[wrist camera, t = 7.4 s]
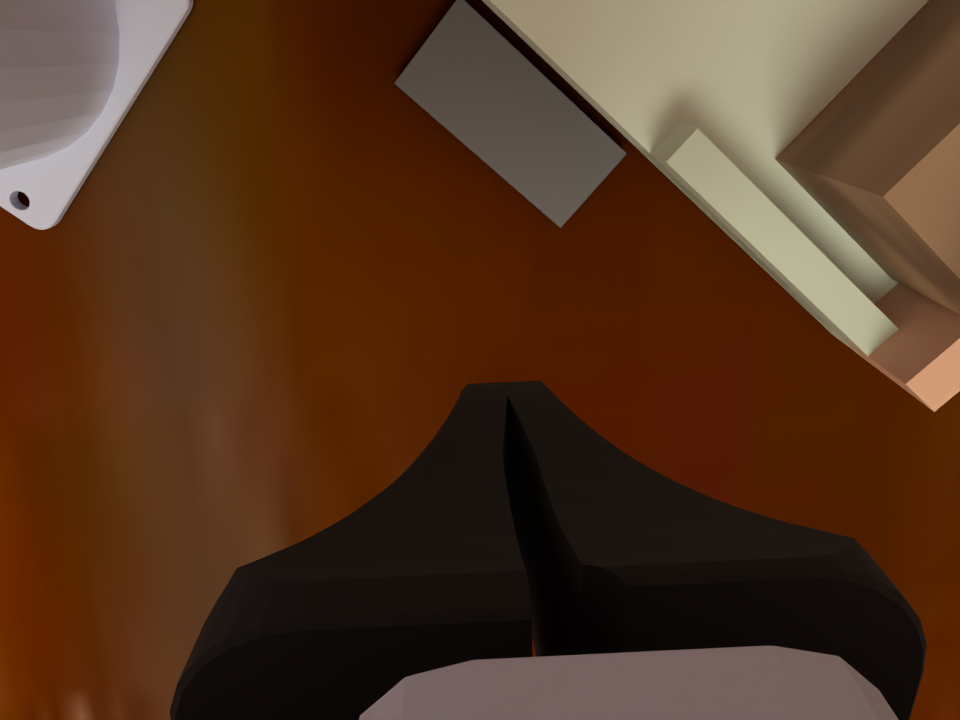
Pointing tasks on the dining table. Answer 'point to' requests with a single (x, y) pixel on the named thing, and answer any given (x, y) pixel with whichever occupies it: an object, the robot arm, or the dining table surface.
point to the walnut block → (896, 155)
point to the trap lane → (752, 143)
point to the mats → (509, 113)
